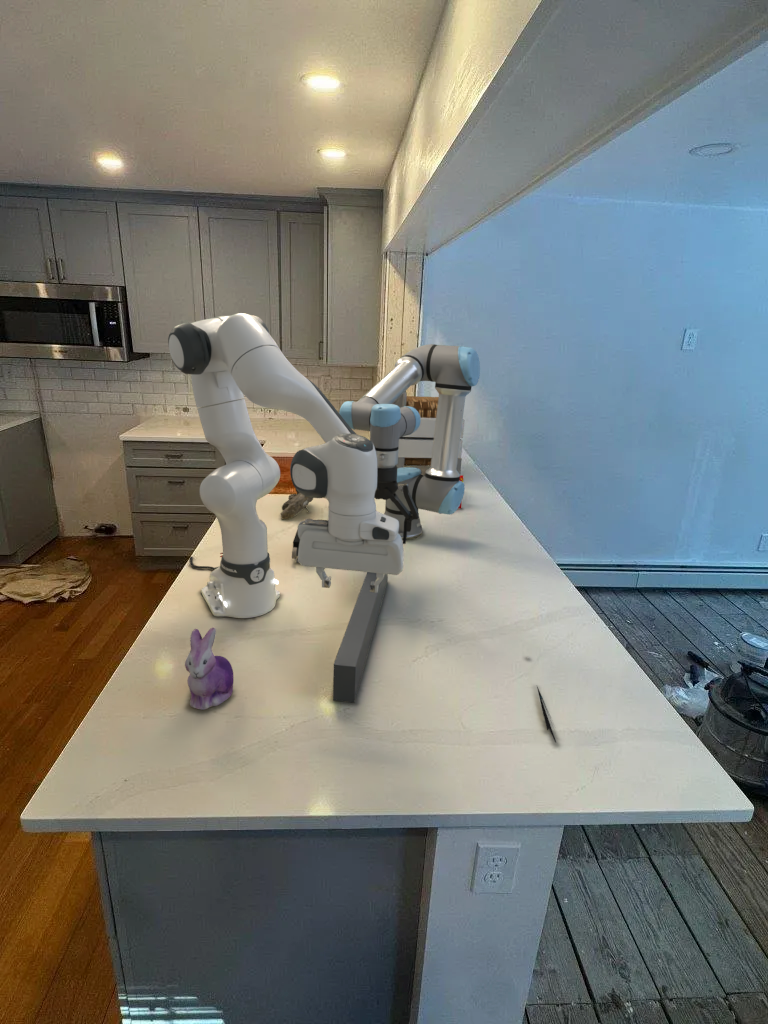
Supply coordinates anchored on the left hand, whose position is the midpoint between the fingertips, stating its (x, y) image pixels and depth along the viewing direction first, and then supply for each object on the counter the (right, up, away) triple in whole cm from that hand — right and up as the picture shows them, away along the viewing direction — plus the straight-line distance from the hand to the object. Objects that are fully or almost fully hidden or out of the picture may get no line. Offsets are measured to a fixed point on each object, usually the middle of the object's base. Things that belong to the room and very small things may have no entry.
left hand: (350, 588), depth 110 cm
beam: (+2, -14, +29) cm, 32 cm away
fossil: (-26, +15, +107) cm, 111 cm away
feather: (+39, -24, +7) cm, 46 cm away
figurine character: (-18, +1, +68) cm, 71 cm away
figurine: (-28, -22, +3) cm, 36 cm away
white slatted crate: (+24, +34, +165) cm, 170 cm away
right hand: (+5, +7, +45) cm, 46 cm away
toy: (+33, +21, +130) cm, 136 cm away
